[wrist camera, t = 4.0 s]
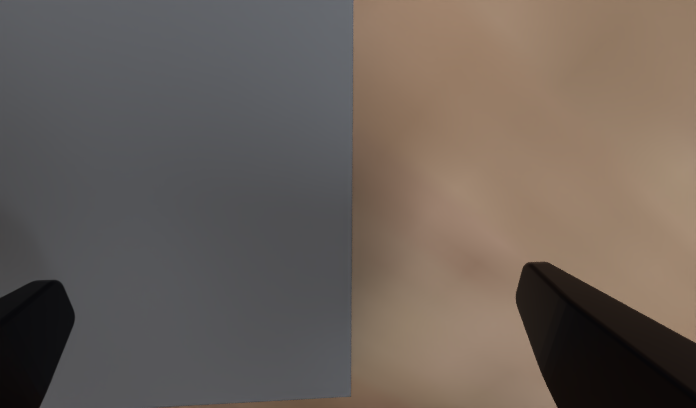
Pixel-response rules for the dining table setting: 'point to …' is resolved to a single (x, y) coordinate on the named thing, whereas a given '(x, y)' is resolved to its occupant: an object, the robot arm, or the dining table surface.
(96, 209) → the grey board
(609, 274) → the dining table surface
